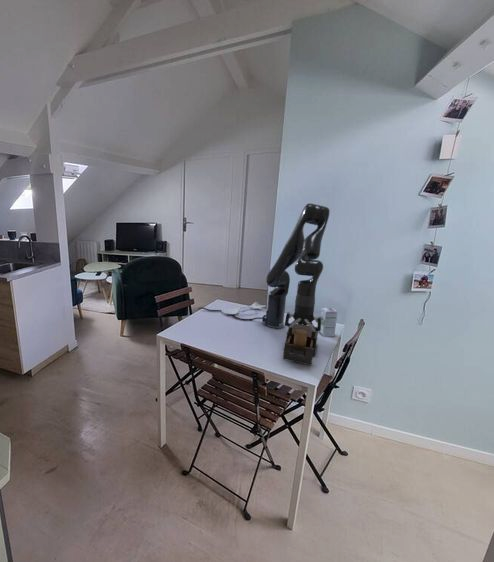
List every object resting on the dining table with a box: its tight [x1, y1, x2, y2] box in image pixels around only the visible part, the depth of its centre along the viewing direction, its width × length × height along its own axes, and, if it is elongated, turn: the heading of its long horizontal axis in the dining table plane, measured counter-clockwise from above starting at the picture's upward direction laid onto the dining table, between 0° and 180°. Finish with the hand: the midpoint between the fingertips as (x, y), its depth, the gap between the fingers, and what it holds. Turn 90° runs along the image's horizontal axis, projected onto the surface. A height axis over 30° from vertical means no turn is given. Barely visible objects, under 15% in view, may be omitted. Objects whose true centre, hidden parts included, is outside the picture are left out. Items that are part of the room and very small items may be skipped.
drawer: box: [282, 335, 314, 366], centre depth 146 cm, size 18×11×8 cm, turn 145°
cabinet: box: [285, 323, 319, 357], centre depth 157 cm, size 15×13×10 cm
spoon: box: [221, 301, 267, 316], centre depth 210 cm, size 9×32×4 cm, turn 111°
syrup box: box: [318, 307, 338, 337], centre depth 170 cm, size 6×6×14 cm
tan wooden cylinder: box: [294, 329, 307, 347], centre depth 146 cm, size 5×5×12 cm
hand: (301, 336), depth 145 cm, fingers open, 8 cm apart
